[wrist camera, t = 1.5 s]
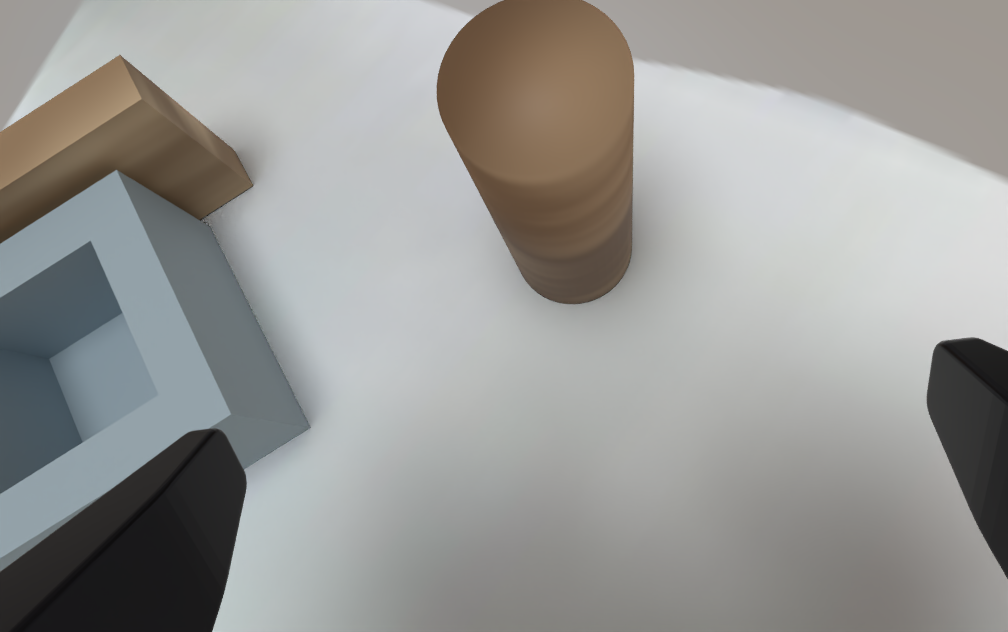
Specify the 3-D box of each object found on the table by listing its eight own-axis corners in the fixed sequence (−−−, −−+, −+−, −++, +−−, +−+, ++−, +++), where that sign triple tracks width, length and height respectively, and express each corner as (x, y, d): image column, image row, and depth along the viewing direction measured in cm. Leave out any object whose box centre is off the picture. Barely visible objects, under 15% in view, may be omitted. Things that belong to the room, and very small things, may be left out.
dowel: (649, 216, 23) (665, 23, 13) (604, 321, 22) (585, 202, 13) (543, 178, 24) (485, -29, 14) (497, 279, 23) (404, 136, 14)
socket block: (313, 427, 23) (231, 414, 19) (101, 559, 24) (-34, 578, 19) (213, 228, 25) (116, 169, 21) (20, 350, 26) (-120, 319, 21)
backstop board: (253, 185, 25) (141, 99, 20) (-37, 369, 26) (-231, 337, 20) (234, 150, 26) (119, 54, 20) (-51, 331, 26) (-244, 289, 20)
